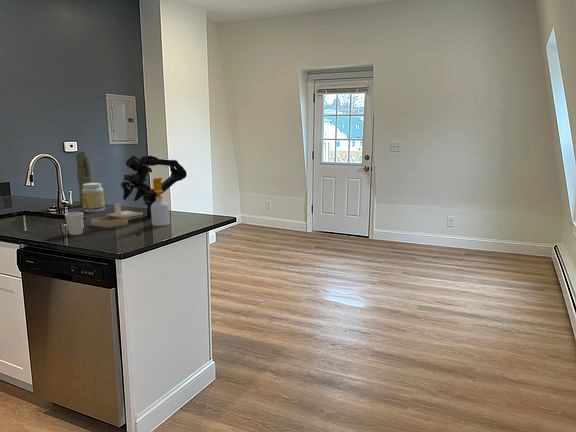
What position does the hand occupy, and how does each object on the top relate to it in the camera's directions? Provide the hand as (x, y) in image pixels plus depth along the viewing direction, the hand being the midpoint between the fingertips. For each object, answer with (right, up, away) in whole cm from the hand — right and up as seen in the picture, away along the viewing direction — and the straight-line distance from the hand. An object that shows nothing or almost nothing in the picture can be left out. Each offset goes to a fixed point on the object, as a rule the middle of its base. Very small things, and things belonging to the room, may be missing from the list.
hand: (129, 200), depth 239 cm
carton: (-7, -13, -9) cm, 17 cm away
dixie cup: (-16, -17, -28) cm, 36 cm away
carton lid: (-2, -8, -2) cm, 8 cm away
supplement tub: (-34, -5, +33) cm, 48 cm away
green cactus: (-47, -2, +53) cm, 71 cm away
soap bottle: (+20, -13, -9) cm, 26 cm away
